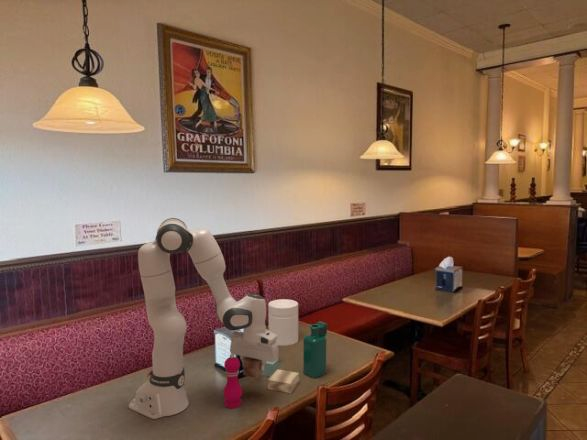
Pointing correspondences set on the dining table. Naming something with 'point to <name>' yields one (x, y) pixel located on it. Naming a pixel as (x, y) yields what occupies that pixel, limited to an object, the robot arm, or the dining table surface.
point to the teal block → (270, 368)
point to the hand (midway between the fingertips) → (253, 368)
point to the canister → (284, 321)
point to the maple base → (283, 381)
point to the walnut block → (252, 367)
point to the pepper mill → (232, 383)
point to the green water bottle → (315, 350)
